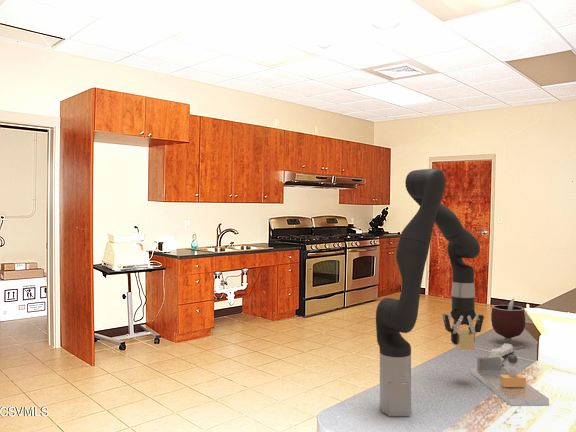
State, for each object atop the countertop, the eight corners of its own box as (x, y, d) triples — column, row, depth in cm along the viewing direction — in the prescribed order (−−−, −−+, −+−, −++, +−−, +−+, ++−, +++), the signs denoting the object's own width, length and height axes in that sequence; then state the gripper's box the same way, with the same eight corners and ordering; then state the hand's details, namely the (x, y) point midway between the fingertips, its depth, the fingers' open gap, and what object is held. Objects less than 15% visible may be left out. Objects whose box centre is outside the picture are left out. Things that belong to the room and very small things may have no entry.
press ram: (525, 387, 153) (525, 355, 153) (504, 387, 153) (504, 355, 153) (521, 383, 156) (520, 353, 156) (500, 383, 156) (499, 353, 156)
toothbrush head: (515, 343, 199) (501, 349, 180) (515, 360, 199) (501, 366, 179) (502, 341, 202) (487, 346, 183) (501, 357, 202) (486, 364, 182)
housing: (474, 349, 158) (474, 334, 158) (459, 349, 158) (459, 334, 159) (466, 343, 166) (466, 329, 166) (451, 343, 166) (451, 329, 167)
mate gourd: (520, 351, 200) (520, 305, 200) (487, 346, 209) (486, 301, 210) (530, 344, 212) (529, 300, 212) (497, 339, 221) (497, 296, 221)
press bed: (549, 405, 144) (548, 385, 144) (510, 405, 144) (510, 385, 144) (503, 372, 174) (503, 356, 174) (470, 372, 174) (470, 356, 174)
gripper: (446, 296, 159) (446, 346, 159) (488, 297, 159) (488, 347, 159) (438, 293, 166) (438, 341, 166) (479, 293, 166) (478, 341, 166)
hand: (462, 343), depth 162 cm, fingers closed on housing, 5 cm apart
